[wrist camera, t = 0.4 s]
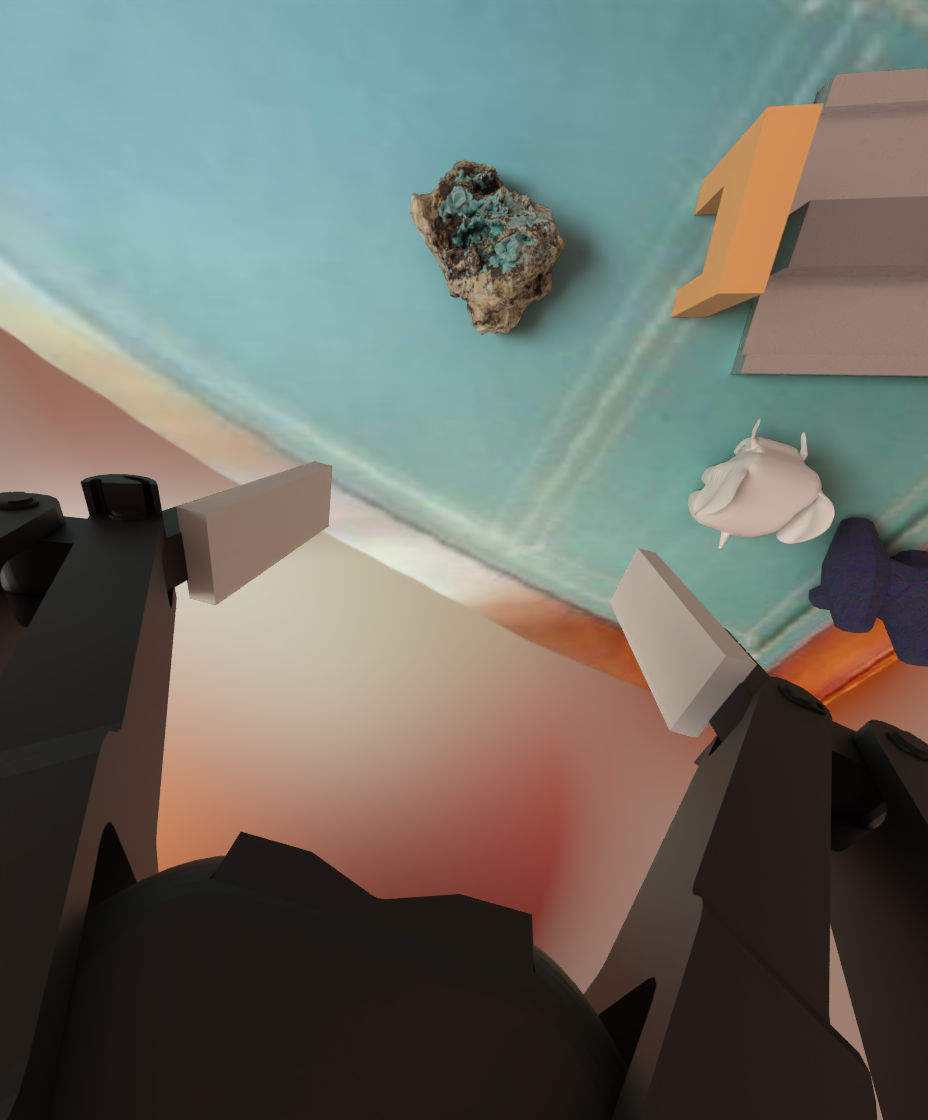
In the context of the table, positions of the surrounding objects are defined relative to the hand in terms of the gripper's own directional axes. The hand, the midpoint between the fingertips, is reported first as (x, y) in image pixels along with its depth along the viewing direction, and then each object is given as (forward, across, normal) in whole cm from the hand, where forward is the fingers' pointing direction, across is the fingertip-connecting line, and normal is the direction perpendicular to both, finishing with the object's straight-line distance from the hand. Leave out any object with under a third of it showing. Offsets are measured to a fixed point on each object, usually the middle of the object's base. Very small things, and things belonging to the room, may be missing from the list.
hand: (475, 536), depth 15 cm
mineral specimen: (+27, -6, +16) cm, 32 cm away
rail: (+26, +26, +23) cm, 44 cm away
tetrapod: (+27, +41, -3) cm, 49 cm away
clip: (+26, +12, +20) cm, 35 cm away
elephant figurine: (+27, +24, +3) cm, 36 cm away
